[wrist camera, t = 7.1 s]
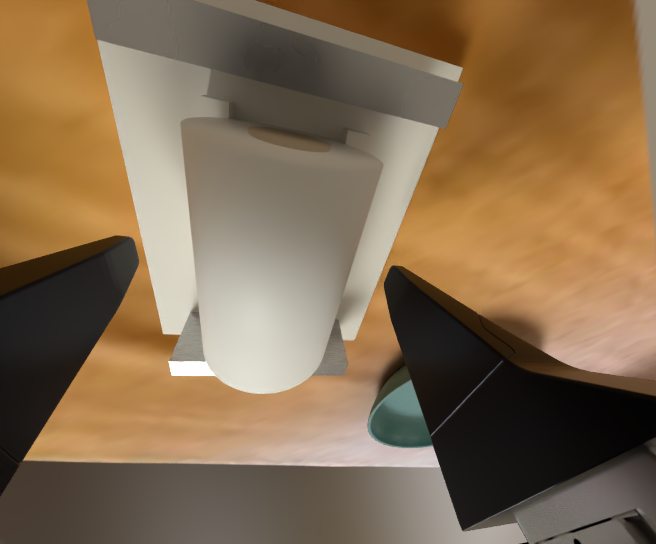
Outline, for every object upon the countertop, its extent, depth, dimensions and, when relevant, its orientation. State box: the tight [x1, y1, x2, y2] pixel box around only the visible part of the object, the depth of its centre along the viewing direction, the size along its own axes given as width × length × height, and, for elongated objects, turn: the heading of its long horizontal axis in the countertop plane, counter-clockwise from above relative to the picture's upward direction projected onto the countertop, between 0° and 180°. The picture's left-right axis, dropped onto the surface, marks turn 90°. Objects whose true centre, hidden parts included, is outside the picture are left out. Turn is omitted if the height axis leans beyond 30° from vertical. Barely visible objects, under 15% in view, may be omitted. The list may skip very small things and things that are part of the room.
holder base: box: [97, 0, 463, 340], centre depth 11 cm, size 14×11×2 cm
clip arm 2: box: [87, 0, 463, 129], centre depth 7 cm, size 1×8×3 cm, turn 78°
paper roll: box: [180, 117, 383, 394], centre depth 9 cm, size 8×5×5 cm, turn 168°
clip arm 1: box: [169, 312, 348, 375], centre depth 13 cm, size 1×8×3 cm, turn 78°
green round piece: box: [368, 365, 433, 448], centre depth 23 cm, size 15×15×3 cm
